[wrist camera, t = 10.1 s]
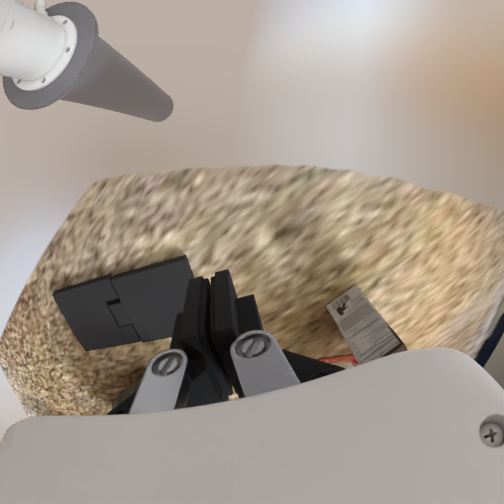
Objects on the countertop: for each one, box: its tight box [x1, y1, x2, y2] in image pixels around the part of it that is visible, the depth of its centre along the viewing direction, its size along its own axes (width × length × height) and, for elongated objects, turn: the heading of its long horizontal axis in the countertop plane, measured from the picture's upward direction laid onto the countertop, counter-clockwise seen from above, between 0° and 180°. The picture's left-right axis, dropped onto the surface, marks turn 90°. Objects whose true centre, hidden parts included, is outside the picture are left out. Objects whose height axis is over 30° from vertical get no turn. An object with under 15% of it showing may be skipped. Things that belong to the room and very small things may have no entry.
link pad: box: [109, 255, 194, 342], centre depth 41 cm, size 12×14×2 cm
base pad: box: [53, 274, 141, 351], centre depth 41 cm, size 12×12×2 cm
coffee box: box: [326, 286, 408, 365], centre depth 39 cm, size 9×6×16 cm
